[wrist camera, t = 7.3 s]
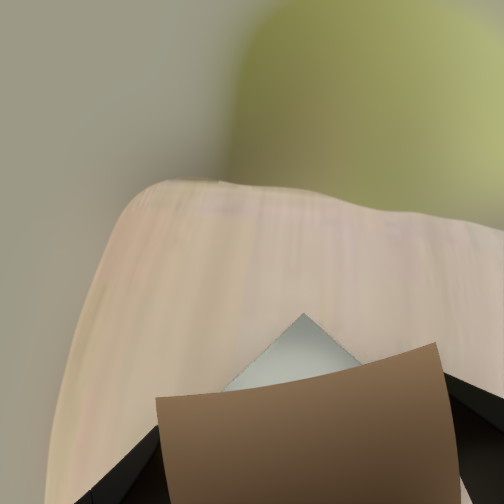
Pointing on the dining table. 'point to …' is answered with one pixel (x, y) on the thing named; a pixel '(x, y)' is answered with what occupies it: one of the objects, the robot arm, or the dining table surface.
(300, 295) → the dining table surface
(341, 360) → the slate tile
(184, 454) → the pillar
